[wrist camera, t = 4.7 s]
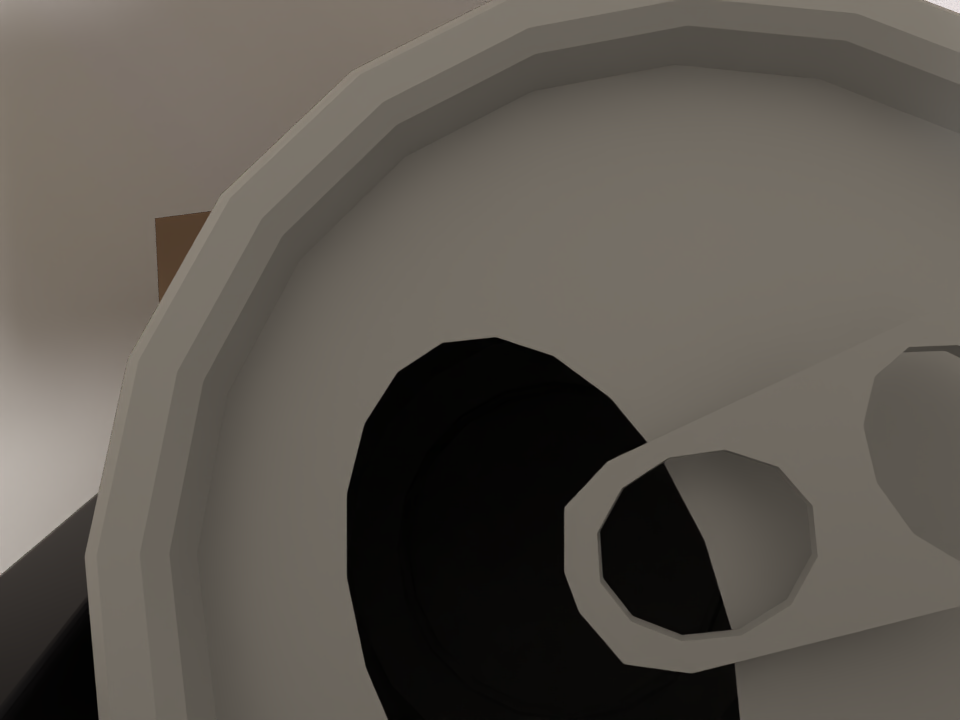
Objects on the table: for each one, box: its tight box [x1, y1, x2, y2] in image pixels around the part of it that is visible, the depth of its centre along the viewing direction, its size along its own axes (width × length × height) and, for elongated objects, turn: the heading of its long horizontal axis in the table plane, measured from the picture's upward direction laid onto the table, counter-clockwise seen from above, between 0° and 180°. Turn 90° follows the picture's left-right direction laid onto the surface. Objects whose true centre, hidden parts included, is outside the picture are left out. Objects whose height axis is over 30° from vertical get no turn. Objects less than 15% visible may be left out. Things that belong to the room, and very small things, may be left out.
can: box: [85, 0, 960, 720], centre depth 10 cm, size 8×8×12 cm
